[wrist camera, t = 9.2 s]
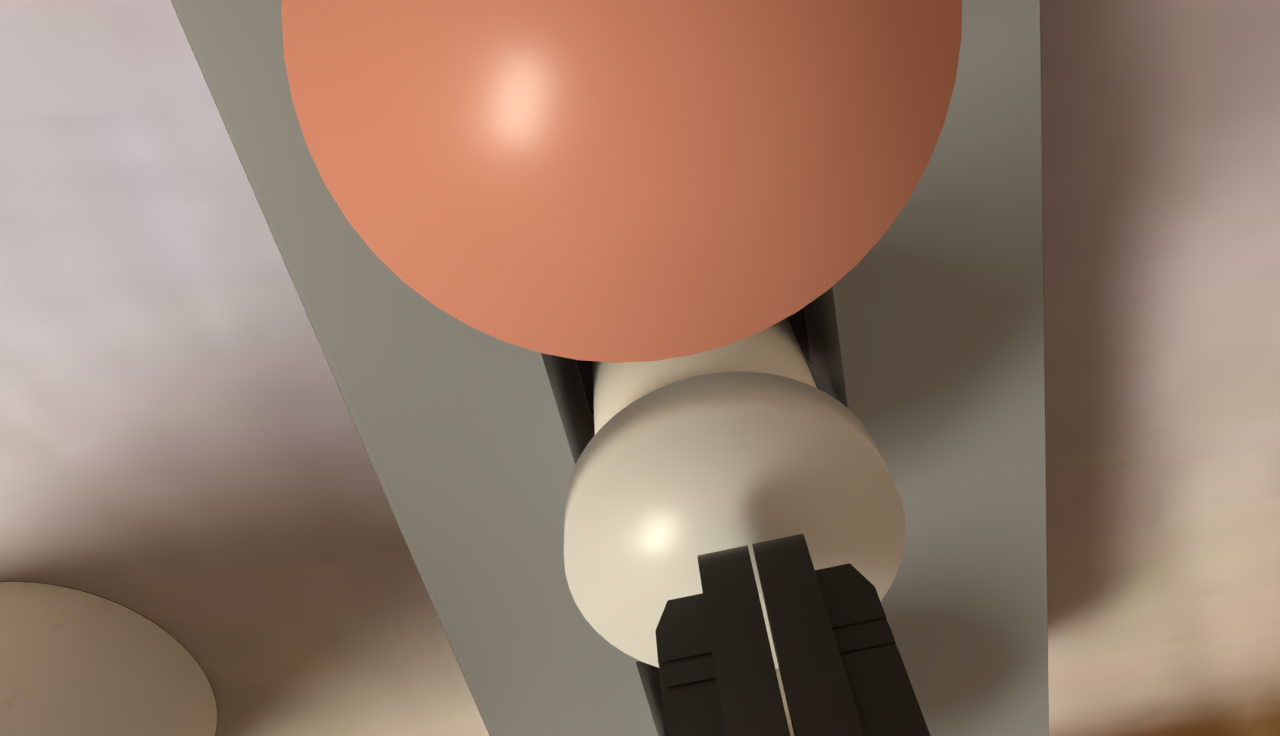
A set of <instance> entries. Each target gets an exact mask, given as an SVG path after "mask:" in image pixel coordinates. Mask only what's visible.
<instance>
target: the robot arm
mask: <svg viewBox="0 0 1280 736" xmlns="http://www.w3.org/2000/svg"><path fill="white" fill-rule="evenodd" d="M752 546H753V551H754V555H755V560H756V565H757V569H758V574H759V579H760V584H761V588H762V593H763V598H764V602H765V607H766V612H767V617H768V621H769V626H770V631H771V635H772V640H773V644H774V649H775V653H776V658H777V662H778V667H779V671H780V675H781V680H782V684H783V689H784V693H785V697H786V702H787V706H788V710H789V715H790V719H791V724H792V728H793V732H794V736H930V733H929V730H928V727H927V725H926V722H925V719H924V717H923V714H922V711H921V709H920V706H919V703H918V701H917V698H916V695H915V693H914V690H913V687H912V685H911V682H910V679H909V677H908V674H907V671H906V668H905V666H904V663H903V660H902V658H901V655H900V652H899V650H898V648H897V646H896V642H895V639H894V636H893V634H892V631H891V628H890V626H889V623H888V622H887V618H886V615H885V612H884V610H883V607H882V604H881V601H880V599H879V596H878V593H877V591H876V588H875V586H874V585H873V584H872V583H871V582H869V581H868V580H867V579H866V578H865V577H864V576H863V575H862V574H861V573H860V572H859V571H858V570H857V569H856V568H854V567H853V566H852V565H851V564H850V563H848V564H843V565H838V566H833V567H829V568H824V569H819V570H814V567H813V563H812V560H811V557H810V553H809V550H808V547H807V543H806V540H805V537H804V535H803V534H798V535H794V536H789V537H784V538H779V539H774V540H769V541H764V542H759V543H755V544H752ZM697 558H698V566H699V572H700V579H701V585H702V591H703V593H702V594H697V595H692V596H687V597H682V598H677V599H672V600H668V601H667V603H666V606H665V608H664V611H663V613H662V616H661V618H660V621H659V623H658V626H657V628H656V631H655V633H656V644H657V655H658V664H659V677H660V688H661V693H662V695H661V699H662V710H663V721H664V732H665V736H790V732H789V727H788V723H787V718H786V714H785V709H784V705H783V700H782V696H781V691H780V687H779V683H778V678H777V674H776V669H775V665H774V660H773V656H772V651H771V647H770V642H769V638H768V633H767V629H766V625H765V620H764V616H763V611H762V607H761V602H760V598H759V593H758V589H757V584H756V580H755V575H754V571H753V567H752V562H751V558H750V553H749V549H748V545H746V546H741V547H736V548H731V549H727V550H722V551H717V552H712V553H707V554H702V555H698V556H697Z"/></svg>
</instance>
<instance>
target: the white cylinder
mask: <svg viewBox="0 0 1280 736" xmlns="http://www.w3.org/2000/svg"><path fill="white" fill-rule="evenodd" d="M216 727H217V706H216V701H215V697H214V694H213V691H212V688H211V686H210V683H209V681H208V679H207V677H206V676H205V674H204V672H203V670H202V669H201V667H200V666H199V665H198V663H197V662H196V661H195V659H194V658H193V657H192V656H191V654H190V653H189V652H188V651H187V650H186V649H185V648H184V647H183V646H182V645H181V644H180V643H179V642H178V641H177V640H175V639H174V638H173V637H172V636H171V635H169V634H168V633H167V632H166V631H164V630H163V629H162V628H160V627H159V626H157V625H156V624H154V623H153V622H151V621H150V620H148V619H146V618H145V617H143V616H142V615H140V614H138V613H136V612H134V611H132V610H130V609H128V608H126V607H124V606H122V605H119V604H117V603H115V602H112V601H110V600H107V599H105V598H102V597H99V596H96V595H93V594H90V593H86V592H83V591H79V590H75V589H71V588H66V587H61V586H56V585H50V584H41V583H31V582H0V736H215V733H216Z"/></svg>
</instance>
